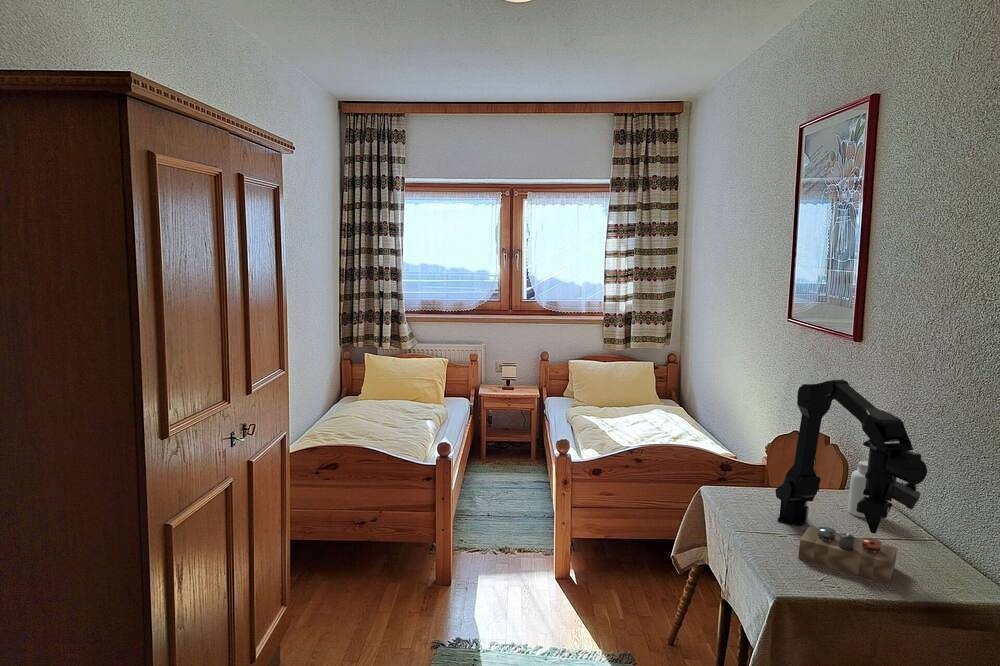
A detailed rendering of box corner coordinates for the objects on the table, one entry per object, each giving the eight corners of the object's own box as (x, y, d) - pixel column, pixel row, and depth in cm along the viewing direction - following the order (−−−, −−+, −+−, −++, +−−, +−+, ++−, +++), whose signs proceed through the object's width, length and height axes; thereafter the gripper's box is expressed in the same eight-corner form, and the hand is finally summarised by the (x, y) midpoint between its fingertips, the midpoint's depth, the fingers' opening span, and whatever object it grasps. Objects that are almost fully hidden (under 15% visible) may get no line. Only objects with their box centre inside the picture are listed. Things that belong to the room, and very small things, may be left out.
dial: (838, 548, 176) (839, 535, 175) (840, 544, 178) (841, 531, 178) (851, 551, 174) (853, 538, 174) (853, 547, 176) (855, 534, 176)
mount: (798, 558, 181) (800, 539, 180) (807, 544, 189) (809, 526, 188) (889, 583, 170) (891, 563, 169) (894, 567, 178) (897, 548, 177)
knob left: (813, 557, 182) (816, 530, 180) (817, 552, 185) (820, 525, 184) (831, 562, 179) (834, 534, 178) (834, 556, 183) (837, 529, 182)
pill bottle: (868, 508, 216) (874, 459, 213) (883, 519, 208) (889, 468, 205) (842, 508, 215) (847, 458, 213) (856, 519, 207) (862, 467, 205)
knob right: (858, 569, 176) (861, 541, 175) (860, 563, 179) (864, 536, 178) (876, 574, 174) (880, 546, 173) (879, 568, 177) (882, 540, 176)
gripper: (915, 488, 161) (907, 556, 163) (923, 467, 176) (916, 529, 178) (859, 477, 167) (852, 542, 169) (872, 457, 182) (865, 517, 184)
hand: (873, 532), depth 175 cm, fingers closed
